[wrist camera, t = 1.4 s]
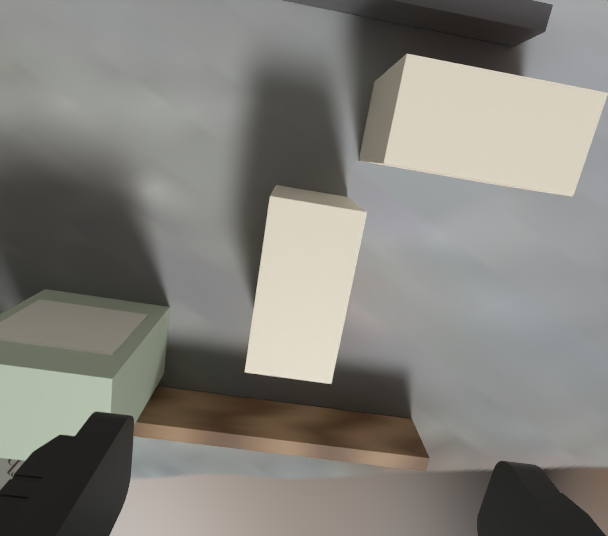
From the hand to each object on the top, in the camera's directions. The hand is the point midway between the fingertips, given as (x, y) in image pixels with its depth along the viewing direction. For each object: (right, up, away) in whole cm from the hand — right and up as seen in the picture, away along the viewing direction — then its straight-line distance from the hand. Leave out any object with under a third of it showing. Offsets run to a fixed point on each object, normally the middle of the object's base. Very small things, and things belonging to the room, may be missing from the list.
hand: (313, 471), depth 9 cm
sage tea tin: (-13, 0, +18) cm, 23 cm away
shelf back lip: (-5, -5, +20) cm, 21 cm away
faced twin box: (+8, +12, +16) cm, 22 cm away
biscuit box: (0, +5, +18) cm, 18 cm away
